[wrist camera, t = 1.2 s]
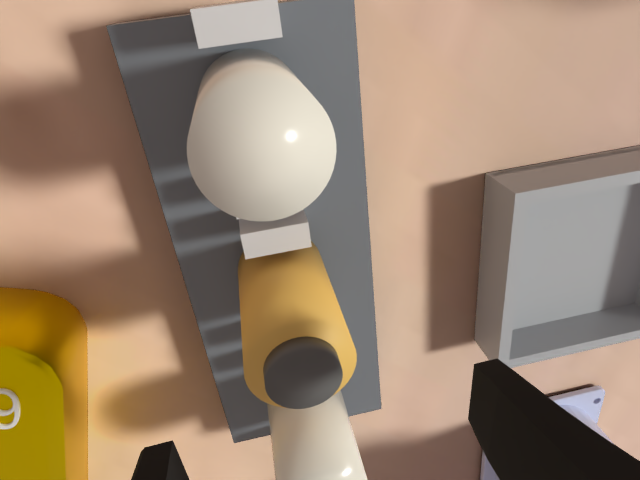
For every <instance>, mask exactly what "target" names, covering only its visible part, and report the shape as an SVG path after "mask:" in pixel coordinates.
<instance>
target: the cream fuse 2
mask: <svg viewBox="0 0 640 480" xmlns="http://www.w3.org/2000/svg"><path fill="white" fill-rule="evenodd" d="M267 406H268V415H269V424H270V433H271V442H272V451H273V460H274V469H275V478H276V480H367V476H366V473H365V470H364V466H363V463H362V460H361V456H360V453H359V450H358V446H357V443H356V440H355V436H354V433H353V430H352V426H351V423H350V420H349V416H348V413H347V410H346V406H345V403H344V400H343V396H342V393H341V390H340V391H339V392H337V393H336V394H335V395H333V396H332V397H330V398H329V399H328V400H326V401H325V402H323V403H321V404H319V405H316V406H314V407H310V408H305V409H290V408H283V407H277V406H273V405H270V404H268V403H267Z"/></svg>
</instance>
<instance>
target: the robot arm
mask: <svg viewBox="0 0 640 480" xmlns="http://www.w3.org/2000/svg"><path fill="white" fill-rule="evenodd" d="M604 395H605V390H604V389H603V388H602V387H601V386H593V387H589V388H585V389H580V390H576V391H572V392H568V393H564V394H560V395H555V396H551V397H547V396H546V395H545V394H543V393H542V392H541V391H539V390H538V389H537V388H536V387H534V386H533V385H532V384H530V383H529V382H528V381H526V380H525V379H524V378H523V377H521V376H520V375H519V374H517V373H516V372H515V371H514V370H512V369H511V368H510V367H508V366H507V365H506V364H504V363H503V362H502V361H500V360H499V359H498V358H497V359H493V360H489V361H485V362H481V363H477V364H474V371H473V380H472V389H471V398H470V407H469V416H468V420H469V422H470V424H471V426H472V428H473V430H474V433H475V435H476V437H477V439H478V441H479V443H480V445H481V447H482V449H483V453H482V464H481V475H480V480H640V461H639V460H637V459H635V458H634V457H632V456H631V455H629V454H628V453H626V452H625V451H623V450H622V449H620V448H619V447H617V446H616V445H614V444H613V442H612V441H611V440H610V439H609V438H608V437H607V435H606V434H605V433H604V432H603V431H602V430H601V429H600V427H599V426H598V425H597V422H598V418H599V414H600V410H601V407H602V403H603V399H604ZM131 480H189V478H188V475H187V473H186V471H185V468H184V466H183V464H182V461H181V459H180V456H179V454H178V452H177V449H176V447H175V445H174V442H173V441H169V442H165V443H161V444H157V445H153V446H149V447H145V448H144V449H143V450H142V451H141V453H140V456H139V459H138V462H137V465H136V468H135V471H134V473H133V476H132V479H131Z"/></svg>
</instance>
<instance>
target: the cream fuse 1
mask: <svg viewBox="0 0 640 480" xmlns="http://www.w3.org/2000/svg"><path fill="white" fill-rule="evenodd" d="M336 152H337V150H336V138H335V132H334V129H333V126H332V123H331V121H330V118H329V116H328V114H327V113H326V111H325V110H324V108H323V107H322V105H321V104H320V103H319V102H318V101H317V99H316V98H315V97H314V96H313V95H312V94H311V93H310V92H309V90H308V89H307V88H306V87H305V86H304V85H303V84H302V83H301V81H300V80H299V79H298V78H297V77H296V76H295V75H294V73H293V72H292V71H291V70H290V69H289V68H288V67H287V66H286V65H285V64H284V63H283V62H282V61H281V60H280V59H278V58H277V57H276V56H274V55H272V54H270V53H268V52H265V51H262V50H258V49H251V48H245V49H237V50H233V51H230V52H228V53H226V54H224V55H222V56H220V57H219V58H218V59H216V60H215V61H214V62H213V63H212V64H211V65H210V66H209V68H208V69H207V70H206V72H205V74H204V76H203V78H202V80H201V83H200V87H199V91H198V95H197V99H196V104H195V108H194V112H193V116H192V121H191V125H190V129H189V133H188V138H187V159H188V165H189V169H190V172H191V174H192V177H193V179H194V181H195V183H196V185H197V186H198V188H199V189H200V191H201V192H202V193H203V195H204V196H205V197H206V198H207V199H208V200H209V201H210V202H211V203H212V204H213V205H215V206H216V207H217V208H219V209H220V210H222V211H224V212H226V213H228V214H230V215H232V216H234V217H237V218H240V219H244V220H249V221H274V220H279V219H283V218H286V217H289V216H291V215H294V214H296V213H298V212H300V211H301V210H303V209H304V208H306V207H307V206H309V205H310V204H311V203H312V202H313V201H314V200H315V199H316V198H317V197H318V196H319V195H320V194H321V193H322V191H323V190H324V188H325V187H326V185H327V183H328V181H329V180H330V178H331V175H332V172H333V170H334V165H335V161H336Z"/></svg>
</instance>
